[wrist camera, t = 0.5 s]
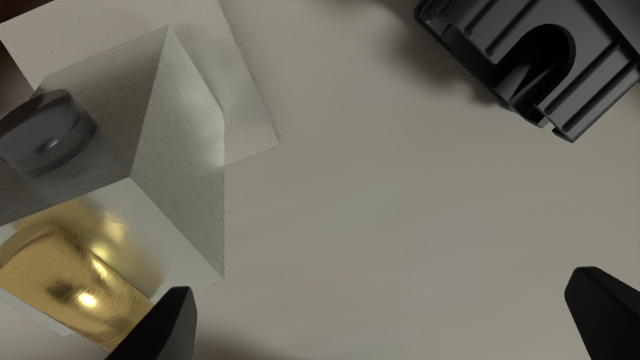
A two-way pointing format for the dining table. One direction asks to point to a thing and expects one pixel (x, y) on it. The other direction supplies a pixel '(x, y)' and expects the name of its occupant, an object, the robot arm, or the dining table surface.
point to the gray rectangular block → (136, 20)
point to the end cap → (544, 54)
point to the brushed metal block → (111, 190)
